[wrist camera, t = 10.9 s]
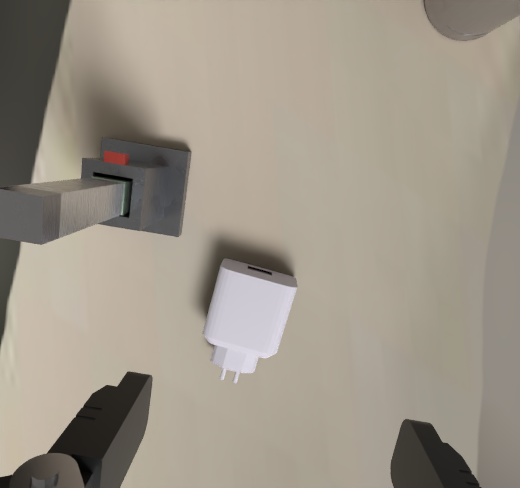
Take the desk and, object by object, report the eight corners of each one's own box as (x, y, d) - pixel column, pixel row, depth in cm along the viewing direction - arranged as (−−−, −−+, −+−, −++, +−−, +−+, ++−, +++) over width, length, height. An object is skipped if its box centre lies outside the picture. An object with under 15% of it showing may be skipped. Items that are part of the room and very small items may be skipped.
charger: (196, 361, 52) (224, 256, 49) (263, 379, 52) (295, 276, 49) (189, 381, 47) (219, 267, 44) (262, 401, 48) (298, 288, 44)
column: (109, 174, 40) (-8, 186, 23) (139, 179, 40) (44, 195, 23) (107, 204, 41) (-8, 237, 24) (137, 209, 41) (42, 245, 24)
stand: (107, 137, 46) (62, 132, 36) (191, 152, 46) (169, 150, 36) (100, 220, 48) (57, 237, 38) (181, 234, 48) (157, 254, 38)
